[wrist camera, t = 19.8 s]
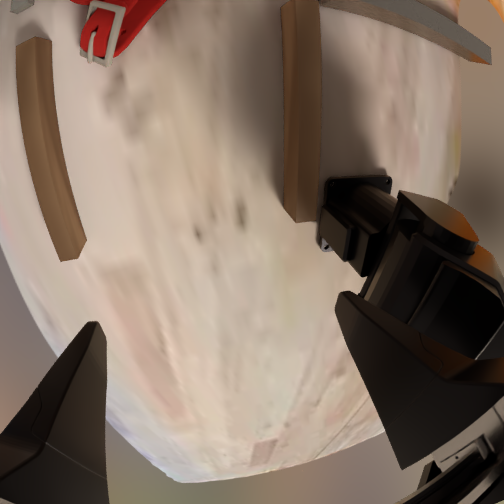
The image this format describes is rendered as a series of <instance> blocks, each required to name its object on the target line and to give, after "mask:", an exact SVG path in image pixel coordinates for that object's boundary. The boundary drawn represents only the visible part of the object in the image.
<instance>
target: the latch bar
mask: <svg viewBox="0 0 504 504" xmlns="http://www.w3.org/2000/svg"><path fill="white" fill-rule="evenodd" d="M319 1H320V6H324V7H329V8H334V9H338V10H342V11H347V12H350V13H354V14H358V15H362V16H365V17H369V18H372V19H375V20H378V21H381V22H384V23H387V24H390V25H393V26H396V27H398V28H401V29H404V30H406V31H409V32H411V33H413V34H416V35H418V36H421V37H423V38H425V39H427V40H429V41H432V42H434V43H436V44H438V45H440V46H442V47H444V48H446V49H448V50H450V51H452V52H454V53H455V54H457V55H459V56H461V57H463V58H464V59H466V60H468V61H470V62H476V63H482V64H488V65H492V64H491V48H490V47H489V46H488V45H486V44H485V43H484V42H482V41H481V40H480V39H478V38H477V37H476V36H474V35H473V34H471V33H470V32H468V31H467V30H466V29H464V28H463V27H461V26H459V25H458V24H456V23H455V22H453V21H452V20H450V19H448V18H447V17H445V16H443V15H442V14H440V13H438V12H436V11H435V10H433V9H431V8H429V7H427V6H425V5H423V4H421V3H419V2H417V1H415V0H319Z"/></svg>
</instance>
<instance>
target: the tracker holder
mask: <svg viewBox="0 0 504 504" xmlns="http://www.w3.org/2000/svg"><path fill="white" fill-rule="evenodd" d="M70 1H72V2H74V3H77V4H81V5H90V6H89V10H88V14H87V18H86V23H85V26H84V28H83V30H82V33H81V41H80V47H81V50H80V55H81V56H83V57H85V58H87V61H88V63H92V61H94V62H96V63H98V64H100V65H103V66H105V67H109V66H111V65H112V60H113V58H114V57H116V56H118V55H119V54H120V53H121V52H122V51H123V50H125V49H126V48H127V47H128V45H129V44H130V43H131V42H132V40H133V39H134V38H135V36H136V35H137V34H138V33H139V31H140V30H141V29H142V28H143V26H144V25H145V24H146V23H147V21H148V20H149V19H150V18H151V16H152V15H153V14H154V13H155V12H156V11H157V10H158V9H159V8H160V7H161V6H162V5H163V4H164V3H165V2H166V0H70Z"/></svg>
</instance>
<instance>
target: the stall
mask: <svg viewBox="0 0 504 504" xmlns="http://www.w3.org/2000/svg"><path fill="white" fill-rule="evenodd" d="M281 22H282V47H283V82H284V209H285V211H286V212H287V213H288V214H289V215H290V217H291V218H292V219H293V220H294V221H295V223H301V222H308V221H315V220H316V213H317V200H318V185H319V168H320V146H321V108H322V68H321V33H320V13H319V1H315V0H290V1H289V2H288V3H286V4H285V5H283V6H282V7H281ZM16 79H17V94H18V104H19V113H20V120H21V127H22V133H23V139H24V145H25V150H26V155H27V159H28V164H29V168H30V172H31V176H32V180H33V184H34V187H35V191H36V194H37V198H38V201H39V204H40V208H41V211H42V214H43V217H44V220H45V223H46V226H47V228H48V231H49V234H50V237H51V239H52V242H53V244H54V247H55V249H56V252H57V254H58V257H59V259H60V261H61V262H62V261H67V260H73V259H78V257H79V255H80V253H81V251H82V249H83V247H84V245H85V243H86V241H87V239H86V236H85V233H84V230H83V227H82V223H81V220H80V217H79V214H78V210H77V207H76V204H75V200H74V196H73V193H72V189H71V185H70V181H69V177H68V173H67V168H66V164H65V159H64V154H63V149H62V144H61V139H60V133H59V127H58V120H57V113H56V105H55V95H54V84H53V69H52V41H49V40H46V39H43V38H39V37H36V36H35V37H33V38H31V39H29V40H27V41H25V42H23V43H22V44H20V45H18V46H16Z"/></svg>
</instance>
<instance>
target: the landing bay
mask: <svg viewBox="0 0 504 504" xmlns="http://www.w3.org/2000/svg"><path fill="white" fill-rule="evenodd" d="M32 5H34V0H12V3H11V11H10V12H13V13H16V14H17V13H19V12H21V11H23V10H25V9H27V8H28V7H30V6H32Z"/></svg>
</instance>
